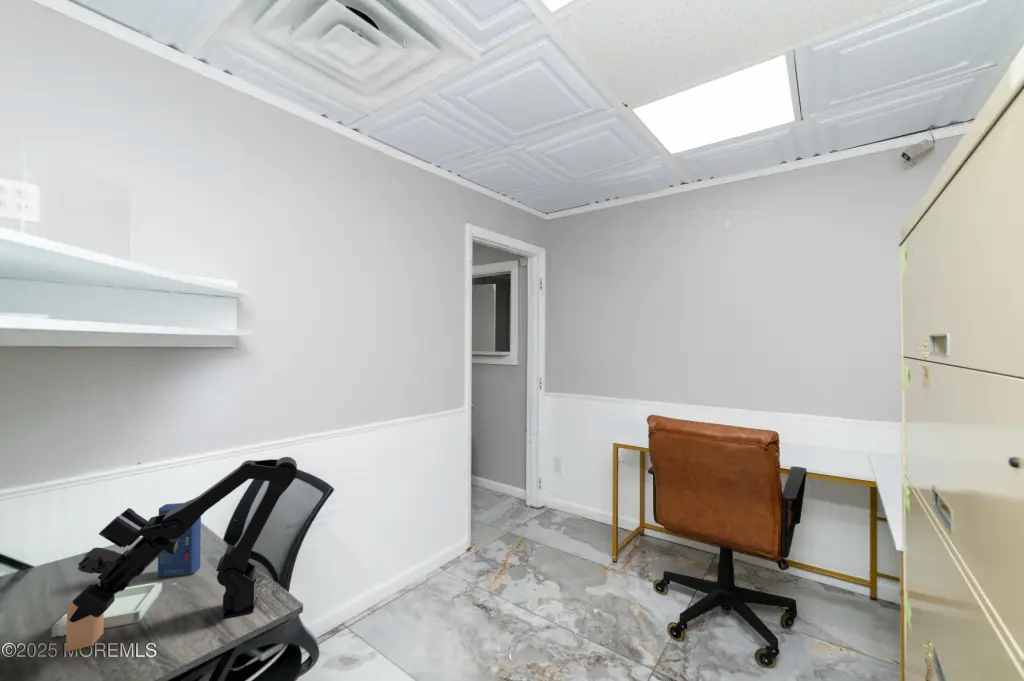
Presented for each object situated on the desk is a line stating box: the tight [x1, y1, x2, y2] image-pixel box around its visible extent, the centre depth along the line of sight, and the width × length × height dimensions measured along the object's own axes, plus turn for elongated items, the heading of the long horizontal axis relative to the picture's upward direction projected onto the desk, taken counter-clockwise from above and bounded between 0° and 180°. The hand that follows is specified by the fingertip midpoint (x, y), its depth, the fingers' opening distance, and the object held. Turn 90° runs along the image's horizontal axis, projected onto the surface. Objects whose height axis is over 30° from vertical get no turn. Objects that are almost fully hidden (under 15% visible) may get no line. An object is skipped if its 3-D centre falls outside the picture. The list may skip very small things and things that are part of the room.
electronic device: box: [157, 502, 202, 578], centre depth 126 cm, size 10×5×20 cm, turn 102°
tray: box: [51, 581, 163, 639], centre depth 107 cm, size 16×14×2 cm
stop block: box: [65, 600, 104, 653], centre depth 96 cm, size 4×4×10 cm
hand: (77, 614), depth 96 cm, fingers closed on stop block, 4 cm apart
